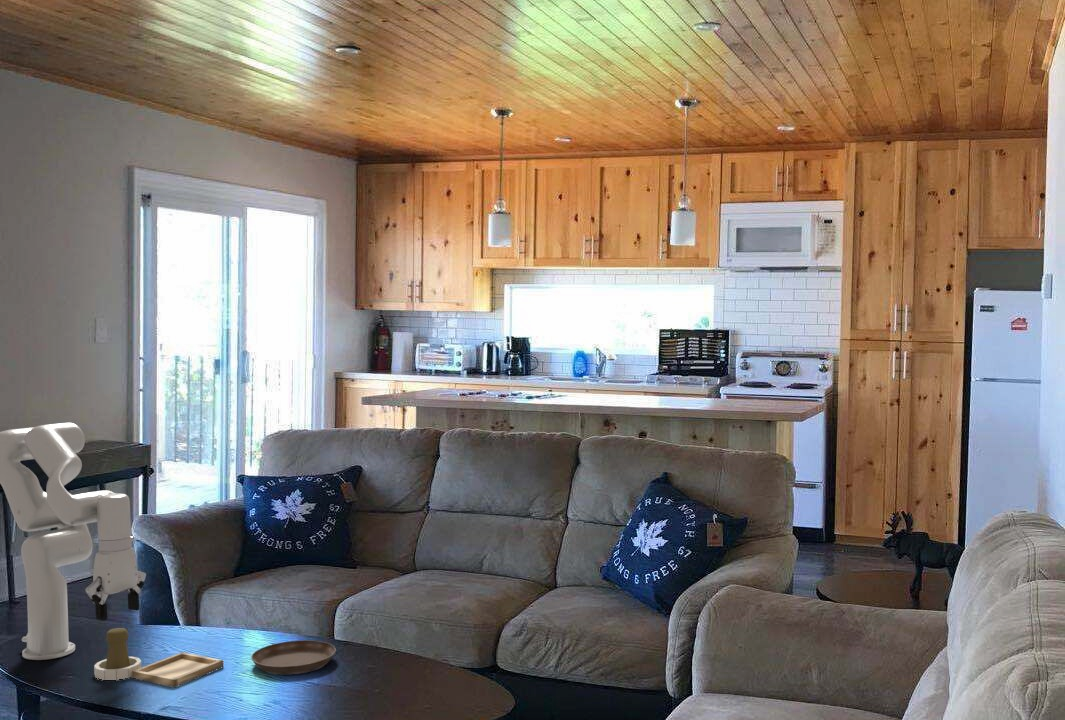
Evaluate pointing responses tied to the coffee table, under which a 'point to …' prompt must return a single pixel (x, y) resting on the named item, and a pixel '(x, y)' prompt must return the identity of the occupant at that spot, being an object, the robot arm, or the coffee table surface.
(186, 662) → the tray
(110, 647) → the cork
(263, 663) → the plant saucer
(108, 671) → the holder ring
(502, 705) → the coffee table surface
